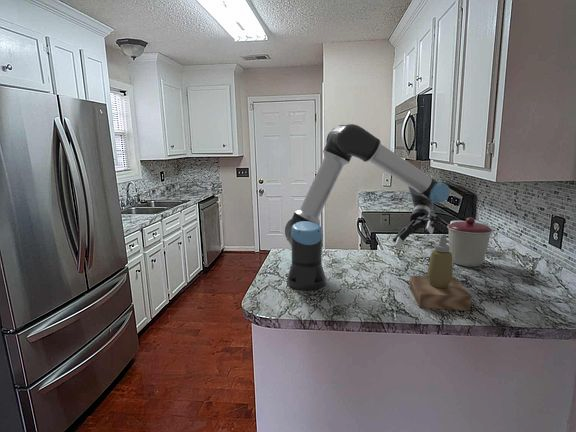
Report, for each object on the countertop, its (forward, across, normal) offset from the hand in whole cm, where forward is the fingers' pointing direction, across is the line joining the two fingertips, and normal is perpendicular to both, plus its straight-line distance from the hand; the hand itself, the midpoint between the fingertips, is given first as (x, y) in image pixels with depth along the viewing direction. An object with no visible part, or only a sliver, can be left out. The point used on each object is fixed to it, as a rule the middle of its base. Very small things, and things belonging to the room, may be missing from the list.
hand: (412, 239), depth 129 cm
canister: (-34, +1, -33) cm, 47 cm away
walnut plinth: (+9, +2, -20) cm, 22 cm away
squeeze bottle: (+8, 0, -16) cm, 18 cm away
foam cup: (-59, +7, -34) cm, 69 cm away
